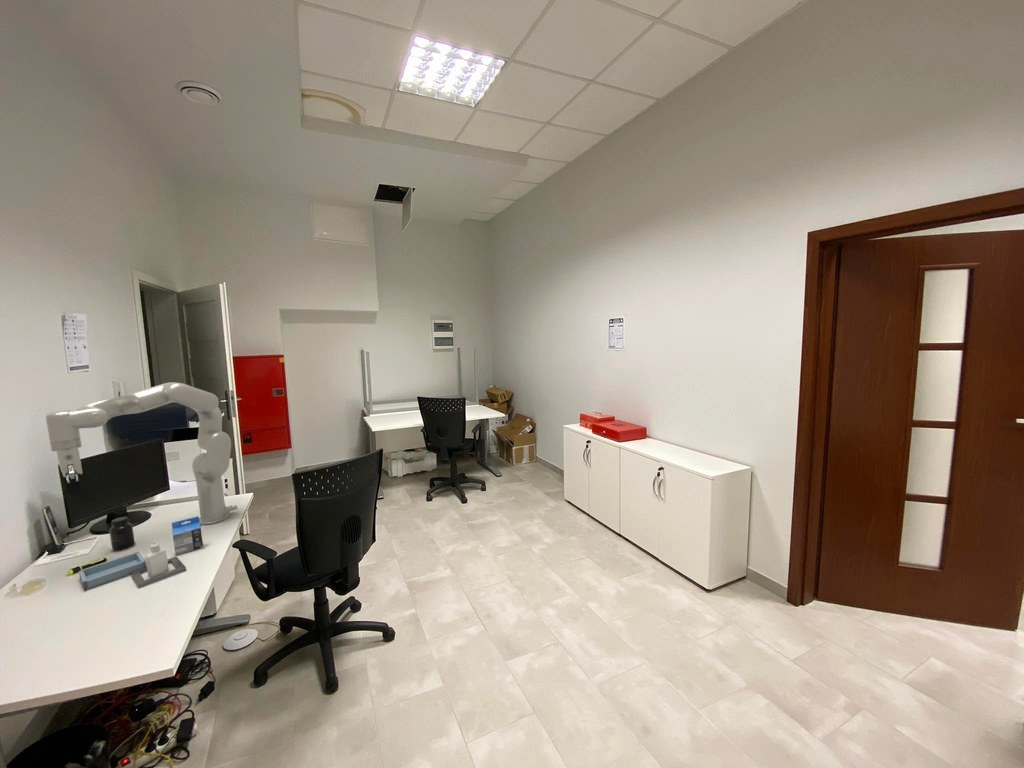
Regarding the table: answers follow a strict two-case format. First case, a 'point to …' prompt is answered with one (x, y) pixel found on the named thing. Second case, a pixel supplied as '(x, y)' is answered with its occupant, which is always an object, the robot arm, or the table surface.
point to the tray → (111, 570)
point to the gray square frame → (141, 582)
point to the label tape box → (187, 535)
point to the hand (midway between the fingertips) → (73, 489)
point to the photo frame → (67, 555)
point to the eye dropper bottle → (156, 560)
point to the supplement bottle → (121, 534)
